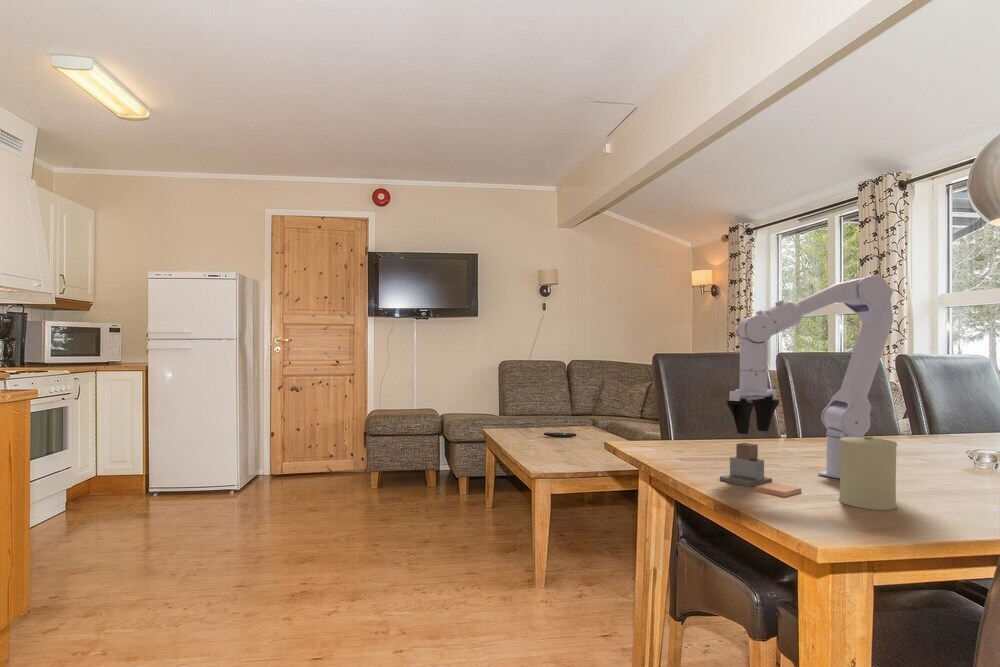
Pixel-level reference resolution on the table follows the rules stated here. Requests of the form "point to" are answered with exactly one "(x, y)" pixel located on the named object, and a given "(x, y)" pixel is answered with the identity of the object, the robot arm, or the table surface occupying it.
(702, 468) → the table surface
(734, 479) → the mat
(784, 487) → the tile
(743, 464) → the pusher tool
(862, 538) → the table surface
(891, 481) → the can
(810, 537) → the table surface
